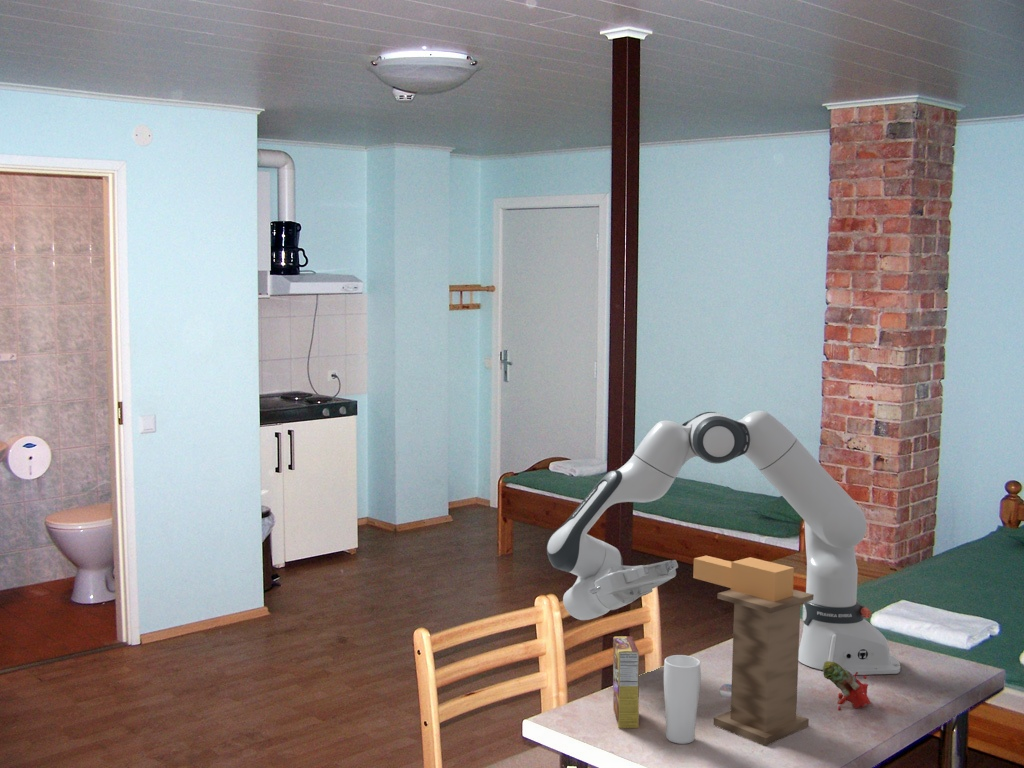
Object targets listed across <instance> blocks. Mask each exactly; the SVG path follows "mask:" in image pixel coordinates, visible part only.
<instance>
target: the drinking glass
mask: <svg viewBox="0 0 1024 768" xmlns="http://www.w3.org/2000/svg"><path fill="white" fill-rule="evenodd" d="M663 664H664V665H663V695H664V712H665V715H664V716H665V737H666V738H667V740H668V741H670V742H672V743H674V744H679V745H686V744H690V743H693V742H694V740H695V738H696V722H697V713H698V705H699V697H700V689H701V677H702V676H701V675H702V673H701V660H699V659H698V658H697V657H694V656H690V655H685V654H675V655H674V654H673V655H670V656H669V655H668V656H667V657H666V658H664V663H663Z"/></svg>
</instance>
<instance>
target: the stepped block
mask: <svg viewBox="0 0 1024 768" xmlns="http://www.w3.org/2000/svg"><path fill="white" fill-rule="evenodd" d="M692 568H693V569H692V570H693V574H692V575H693V576H692V578H693V579H696V580H699V581H704V582H708V583H711V584H714V585H718V586H722V587H726V588H730V590H733V591H737V592H741V593H744V594H748V595H752V596H755V597H759V598H763V599H766V600H770V601H774V602H775V601H778V600H781V599H785V598H788V597H791V596H793V589H794V577H795V576H794V574H795V573H794V572H795V568H794V567H792V566H788V565H784V564H779V563H776V562H772V561H767V560H763V559H759V558H755V557H751V556H750V557H746V558H741V559H739V560H738V559H737V560H734V561H731V560H725V559H722V558H718V557H714V556H709V555H704V556H703V555H702V556H699V557H694V558H693V567H692Z"/></svg>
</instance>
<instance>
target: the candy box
mask: <svg viewBox="0 0 1024 768" xmlns="http://www.w3.org/2000/svg"><path fill="white" fill-rule="evenodd" d="M612 638H613V639H612V646H613V647H612V654H613V657H612V658H613V659H612V660H613V662H612V664H613V665H612V668H613V669H612V671H613V673H612V674H613V675H612V676H613V677H612V681H613V682H612V686H613V687H612V690H613V691H612V695H613V698H612V699H613V700H612V701H613V703H612V705H613V707H612V708H613V713H614V717H615V720H616V723H617V728H618V729H639V724H640V723H639V722H640V721H639V719H640V718H639V711H640V705H639V704H640V703H639V702H640V699H639V698H640V695H639V694H640V692H639V691H640V651H639V649H638V647H637V645H636V642H635V640H634V637H633V636H626V635H625V636H623V635H621V636H620V635H619V636H613V637H612Z"/></svg>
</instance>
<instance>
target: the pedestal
mask: <svg viewBox="0 0 1024 768" xmlns="http://www.w3.org/2000/svg"><path fill="white" fill-rule="evenodd" d="M813 597H814V595H813V594H809V593H806V591H801V590H797V589H794V588H793V596H791V597H788V598H785V599H781V600H778V601H775V602H774V601H770V600H766V599H763V598H759V597H755V596H752V595H748V594H744V593H741V592H737V591H733V590H731V589H728V590H725V591H721V592H718V593H717V597H716V599H718V600H722V601H724V602H725V601H726V602H729V603H732V604H733V629H732V632H733V633H732V634H733V635H732V638H733V639H732V661H731V663H732V664H731V668H732V669H731V689H730V690H731V693H730V694H731V695H730V710H729V711H726V712H723V713H721V714H719V715H717V716H715V717H713V722H712V723H713V726H714V725H715V727H717V726H718V727H717V728H719V727H720V728H719V729H722V728H723V729H722V730H724V729H725V730H724V731H727V732H729V731H730V733H733V734H734V733H735V735H737V736H739V735H740V736H739V737H742V738H744V739H746V740H749V741H751V742H755V743H757V744H759V745H762V746H765V747H767V746H769V745H771V744H773V743H776V742H778V741H779V740H782V739H785V738H787V737H789V736H790V735H793V734H795V733H798V732H799V731H801V730H804V729H806V728H808V727H809V723H810V722H809V721H810V719H809V718H807V717H805V716H802V715H799V714H797V707H798V706H797V704H798V682H799V678H798V677H799V661H798V656H799V646H800V629H801V628H800V626H801V625H800V622H801V605H803V604H804V603H805V602H808V601H811V600H813Z"/></svg>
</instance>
